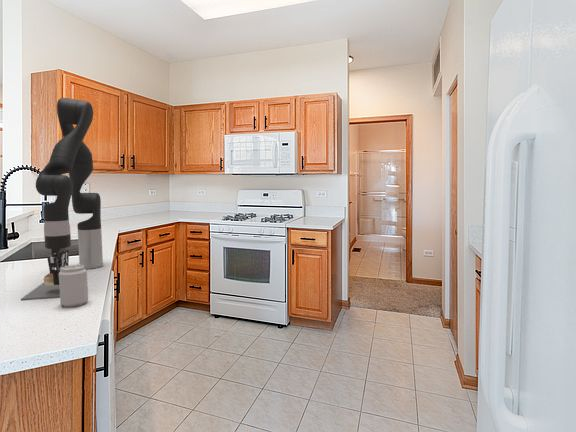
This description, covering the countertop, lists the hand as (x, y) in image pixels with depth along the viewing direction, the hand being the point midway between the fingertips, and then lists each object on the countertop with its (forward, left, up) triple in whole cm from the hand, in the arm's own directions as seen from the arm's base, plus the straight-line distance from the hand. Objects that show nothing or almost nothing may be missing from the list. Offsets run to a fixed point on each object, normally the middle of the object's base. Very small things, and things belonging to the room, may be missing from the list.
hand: (60, 282), depth 122 cm
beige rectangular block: (0, 0, 0) cm, 0 cm away
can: (+14, +8, -4) cm, 16 cm away
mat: (-4, -3, -4) cm, 6 cm away
